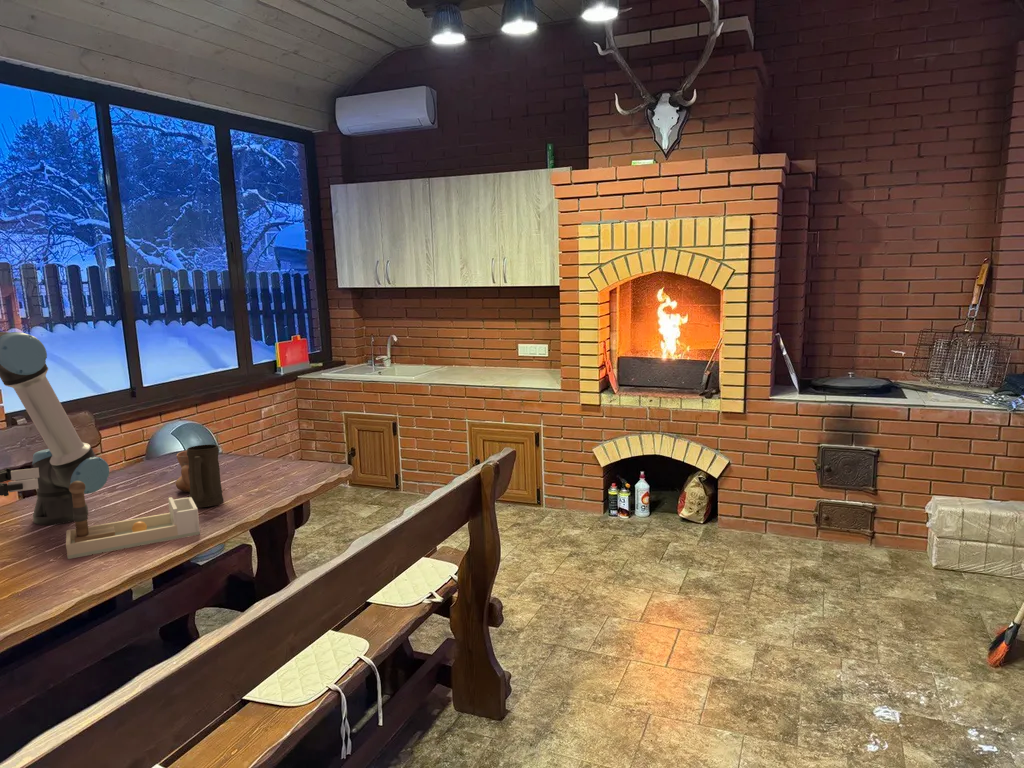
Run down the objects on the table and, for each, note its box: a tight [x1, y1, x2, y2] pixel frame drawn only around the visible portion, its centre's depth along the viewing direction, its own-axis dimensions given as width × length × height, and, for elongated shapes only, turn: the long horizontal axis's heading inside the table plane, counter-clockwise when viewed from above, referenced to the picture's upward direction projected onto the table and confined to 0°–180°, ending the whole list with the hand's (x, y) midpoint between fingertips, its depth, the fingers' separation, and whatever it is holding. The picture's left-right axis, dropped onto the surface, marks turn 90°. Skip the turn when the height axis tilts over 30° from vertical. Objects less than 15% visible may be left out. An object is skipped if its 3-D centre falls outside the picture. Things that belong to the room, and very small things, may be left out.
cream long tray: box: [65, 496, 201, 560], centre depth 211 cm, size 14×34×9 cm, turn 121°
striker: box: [69, 481, 115, 543], centre depth 205 cm, size 5×10×19 cm, turn 121°
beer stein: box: [186, 444, 225, 508], centre depth 239 cm, size 15×11×20 cm
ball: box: [132, 521, 147, 532], centre depth 212 cm, size 4×4×4 cm
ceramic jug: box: [175, 449, 190, 493], centre depth 258 cm, size 18×14×14 cm
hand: (38, 477), depth 197 cm, fingers open, 13 cm apart
